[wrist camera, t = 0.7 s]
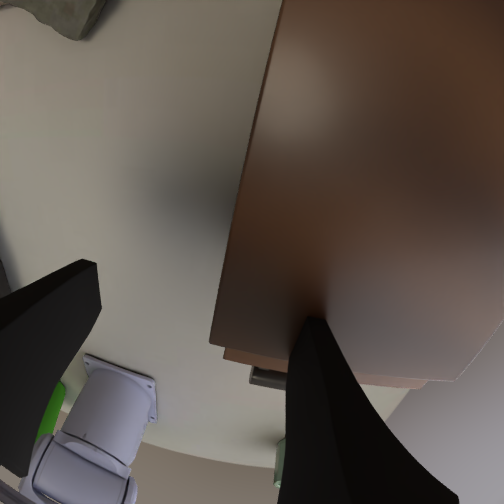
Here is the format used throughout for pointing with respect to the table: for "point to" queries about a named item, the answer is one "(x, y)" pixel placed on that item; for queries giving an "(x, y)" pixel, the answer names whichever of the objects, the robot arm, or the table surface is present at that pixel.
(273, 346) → the cabinet
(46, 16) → the stone
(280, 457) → the green cup
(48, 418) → the cup
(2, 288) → the bowl
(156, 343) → the table surface
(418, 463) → the robot arm
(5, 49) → the table surface
